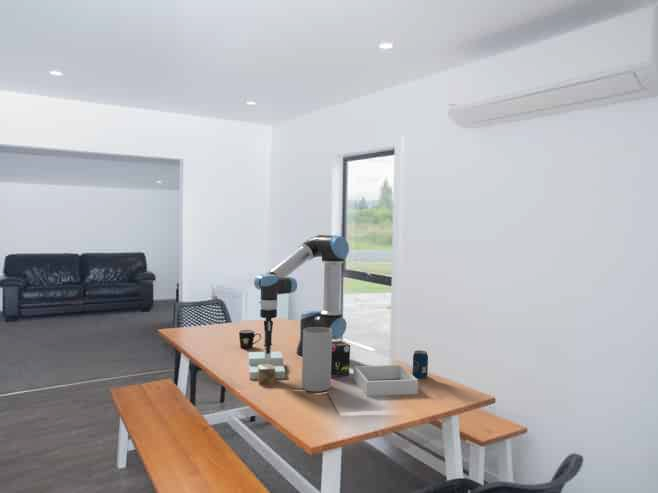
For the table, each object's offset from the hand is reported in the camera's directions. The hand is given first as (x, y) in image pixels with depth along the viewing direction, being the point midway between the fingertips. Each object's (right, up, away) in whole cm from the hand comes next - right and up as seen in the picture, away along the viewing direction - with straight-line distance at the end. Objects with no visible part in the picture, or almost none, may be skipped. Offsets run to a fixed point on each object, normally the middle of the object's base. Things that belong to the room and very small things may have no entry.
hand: (267, 359), depth 220 cm
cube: (0, -1, -7) cm, 7 cm away
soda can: (+71, -10, +6) cm, 72 cm away
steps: (-2, -8, +9) cm, 12 cm away
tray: (+52, -10, -8) cm, 54 cm away
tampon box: (+31, -9, +8) cm, 33 cm away
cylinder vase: (+23, -9, -12) cm, 27 cm away
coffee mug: (-17, -6, +49) cm, 53 cm away
